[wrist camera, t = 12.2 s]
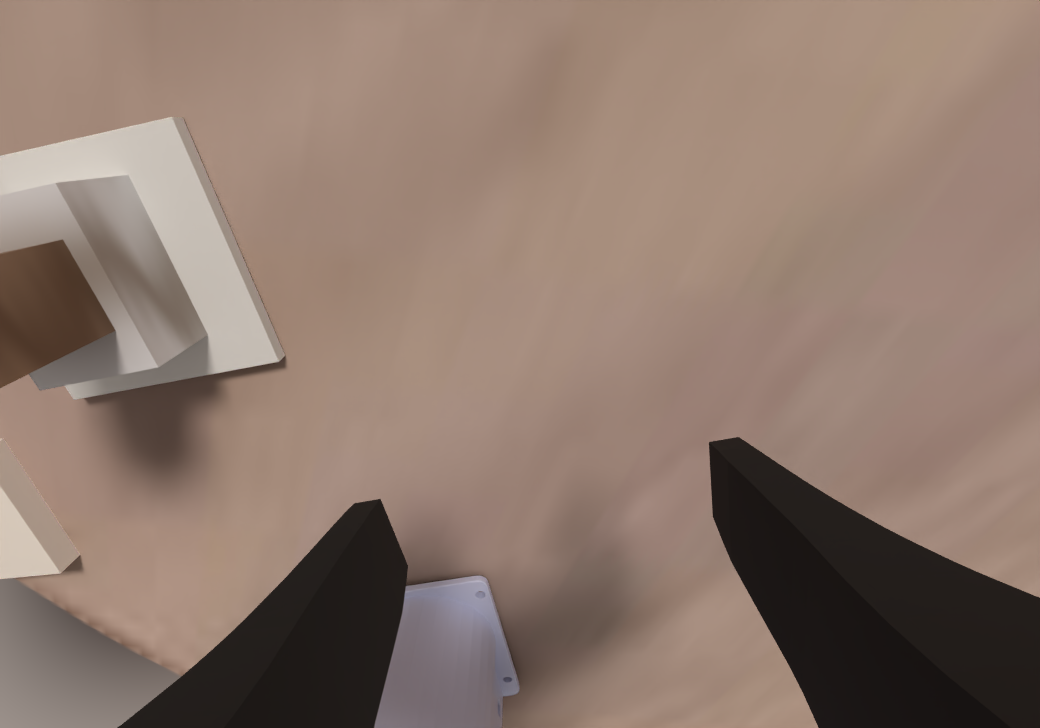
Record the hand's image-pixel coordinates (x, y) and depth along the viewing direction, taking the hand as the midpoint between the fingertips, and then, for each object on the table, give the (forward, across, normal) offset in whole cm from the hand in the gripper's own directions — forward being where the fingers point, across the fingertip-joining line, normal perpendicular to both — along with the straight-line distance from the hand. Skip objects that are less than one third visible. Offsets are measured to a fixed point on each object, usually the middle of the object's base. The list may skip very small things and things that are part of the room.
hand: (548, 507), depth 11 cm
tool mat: (+10, +15, -6) cm, 19 cm away
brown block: (+10, +15, -6) cm, 19 cm away
